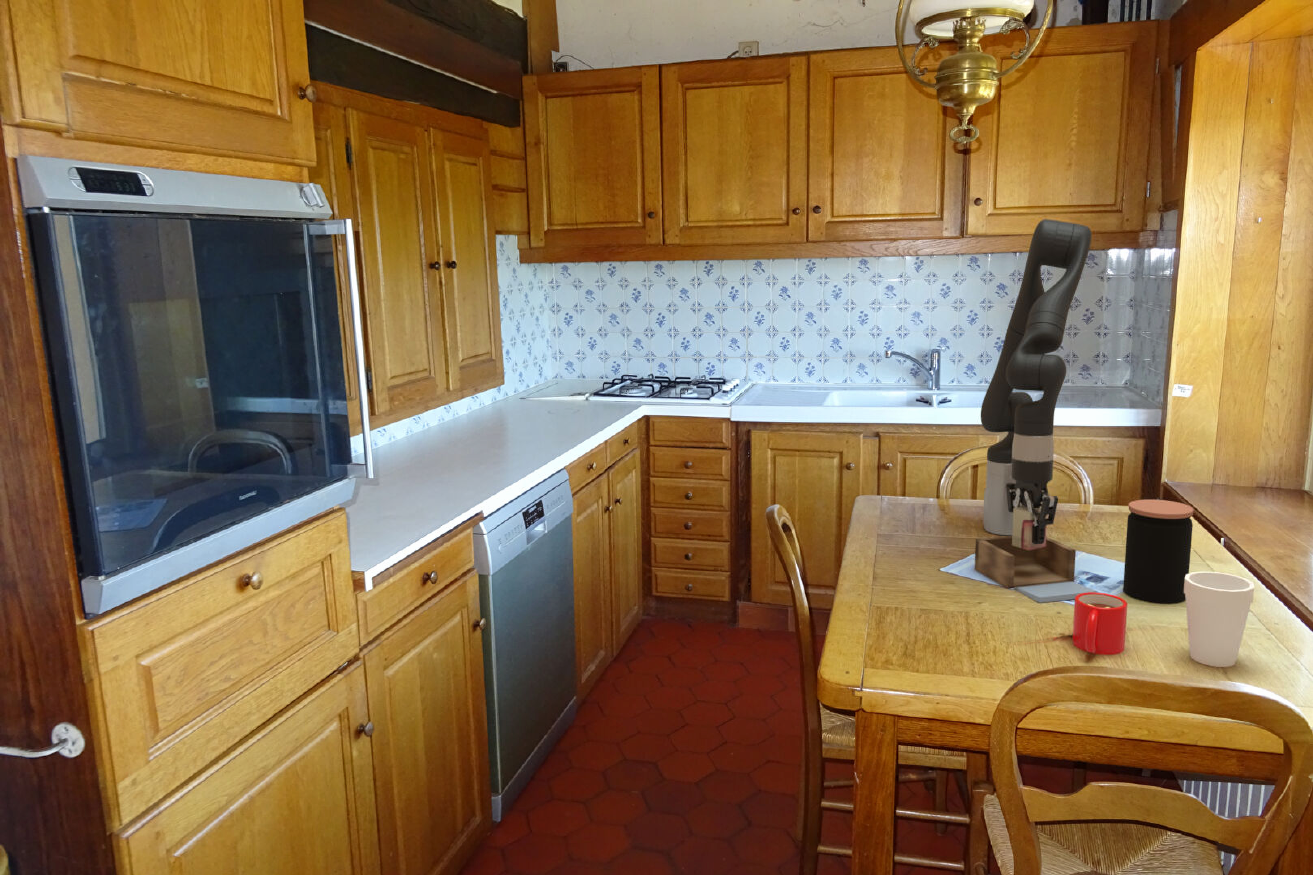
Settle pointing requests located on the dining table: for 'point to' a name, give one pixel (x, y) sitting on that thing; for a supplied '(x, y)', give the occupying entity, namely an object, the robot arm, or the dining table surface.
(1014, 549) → the open wooden box
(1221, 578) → the foam cup
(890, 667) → the dining table surface
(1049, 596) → the panel
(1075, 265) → the robot arm
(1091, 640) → the mug
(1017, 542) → the small box
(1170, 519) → the coffee jar
